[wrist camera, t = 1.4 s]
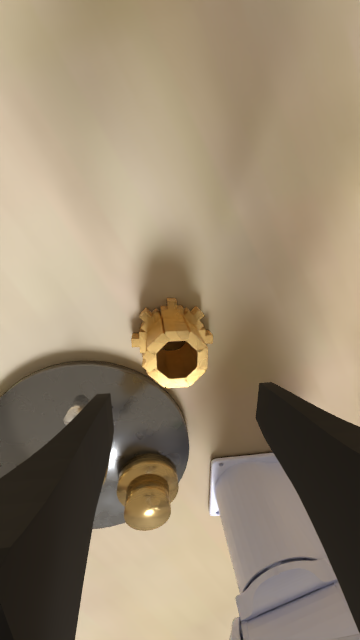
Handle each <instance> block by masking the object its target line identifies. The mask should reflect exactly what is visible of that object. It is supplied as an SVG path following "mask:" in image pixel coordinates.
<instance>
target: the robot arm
mask: <svg viewBox="0 0 360 640" xmlns="http://www.w3.org/2000/svg"><path fill="white" fill-rule="evenodd" d="M256 420H257V422H258V424H259V427H260V429H261V431H262V434H263V436H264V438H265V440H266V441H267V443H268V445H269V446H270V448H271V450H272V451H273V453H265V454H255V455H246V456H236V457H226V458H216V459H213V460H212V461H211V477H210V499H209V513H210V515H211V516H218V515H220V518H221V521H222V525H223V529H224V533H225V537H226V541H227V545H228V549H229V553H230V557H231V561H232V565H233V569H234V572H235V576H236V580H237V584H238V588H239V592H240V595H238V596H236V597H235V599H236V603H237V607H238V611H239V616H240V617H237V618H235V619H234V620H233V622H232V629H231V634H230V639H229V640H360V427H359V426H356V425H354V424H352V423H349V422H347V421H345V420H343V419H340V418H338V417H336V416H334V415H332V414H330V413H328V412H326V411H324V410H322V409H320V408H318V407H316V406H314V405H313V404H311V403H309V402H307V401H305V400H303V399H302V398H300V397H298V396H296V395H294V394H293V393H291V392H289V391H287V390H285V389H284V388H282V387H280V386H278V385H276V384H274V383H272V382H269V383H259V392H258V402H257V411H256ZM113 435H114V423H113V414H112V404H111V394H110V393H105V394H96V396H95V397H94V398H93V399H92V400H91V401H90V402H89V403H88V404H87V405H86V406H85V407H84V408H83V409H82V410H81V411H80V412H79V413H78V414H77V415H76V416H75V417H74V418H73V419H72V420H71V421H70V422H69V423H68V424H67V425H66V426H65V427H64V428H63V429H62V430H61V431H60V432H59V433H58V434H57V435H56V436H55V437H53V438H52V439H51V440H50V441H49V442H48V443H47V444H45V445H44V446H43V447H42V448H41V449H39V450H38V451H37V452H36V453H34V454H33V455H32V456H31V457H29V458H28V459H27V460H25V461H24V462H23V463H21V464H20V465H18V466H17V467H16V468H14V469H13V470H11V471H10V472H8V473H7V474H6V475H4V476H3V477H1V478H0V640H75V634H76V628H77V621H78V614H79V608H80V601H81V594H82V588H83V581H84V575H85V569H86V563H87V557H88V551H89V545H90V539H91V533H92V528H93V522H94V517H95V512H96V508H97V504H98V500H99V496H100V493H101V489H102V485H103V481H104V477H105V474H106V470H107V466H108V462H109V458H110V454H111V449H112V442H113Z"/></svg>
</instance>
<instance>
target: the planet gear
mask: <svg viewBox="0 0 360 640" xmlns="http://www.w3.org/2000/svg"><path fill="white" fill-rule="evenodd" d="M204 316H205V315H204V314H203V313H202V311H201V310H200V309H199V308H198V307H197V306H195V307H194V308H193V309H192V310H191V311H190V310H189V309H188V308H187V307H185V308H184V309H183V307H182V305H177V301H176V298H167V306H161V312H160V311H159V310H158V309H157V308H155V310H154V311H153V312H151V311H150V310H148V309H147V308H145V309H144V310H143V311H142V312H141V313H140V317H139V318H140V319H142V320H143V322H142V324H141V327H140V330H139V333H133V334H132V339H131V341H132V347H140V353H143V362H142V367H144V368H145V369H146V371H147V372H148V375H149V376H150V377H151V378H153V379H154V380H155V381H157V382H158V383H159V384H160V385H162V386H163V387H165V386H166V388H176V387H188V384H189V385H190V386H191V385H192V384H193V383H194V382H195V381H196V380H197V379H198V378H199V377H200V376H201V375H202V374H204V373H205V372H206V369H207V359H208V348H207V345H206V344H212V343H213V335H212V334H211V332H210V331H209V330H205V328H204V327H203V326H204V325H203V324H202V322H201V321H200V320H201V319H202V318H203V317H204ZM169 341H187V342H186V343H185V344H184V345H183V346H182V347H181V348H180V349H179V350H164V349H163V348H162V347H163V346H164V345H165V344H166V343H167V342H169Z"/></svg>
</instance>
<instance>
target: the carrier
mask: <svg viewBox="0 0 360 640" xmlns="http://www.w3.org/2000/svg"><path fill="white" fill-rule="evenodd" d="M105 393H110V394H111V404H112V414H113V423H114V435H113V442H112V449H111V454H110V458H109V462H108V466H107V470H106V474H105V477H104V481H103V485H102V489H101V493H100V496H99V500H98V504H97V508H96V512H95V517H94V522H93V528H92V529H98V528H105V527H111V526H115V525H118V524H122V523H125V522H126V523H127V524H128V525H129V526H130V527H132V528H134V529H136V530H142V531H146V530H153V529H156V528H158V527H160V526H162V525H163V524H164V523H165V522H166V521H167V520H168V519H169V517H170V514H171V508H170V503H171V502H172V501H173V500H174V498H175V497H176V495H177V493H178V483H179V481H180V479H181V478H182V476H183V473H184V471H185V468H186V465H187V461H188V455H189V439H188V433H187V428H186V424H185V420H184V418H183V415H182V413H181V410H180V409H179V407H178V405H177V404H176V402H175V401H174V400H173V398H172V397H171V396H170V395H169V394H168V392H167V391H165V390H164V389H163V388H162V387H161V386H160V385H159V384H157V383H156V382H155V381H153V380H152V379H150V378H149V377H147V376H145V375H143V374H141V373H139V372H137V371H135V370H132V369H130V368H127V367H124V366H120V365H116V364H112V363H106V362H98V361H76V362H67V363H62V364H57V365H53V366H49V367H47V368H44V369H41V370H38V371H36V372H34V373H32V374H30V375H28V376H26V377H25V378H23V379H22V380H20V381H19V382H17V383H16V384H15V385H13V386H12V387H11V388H10V389H9V390H8V391H7V392H6V393H5V394H4V395H3V396H2V397H1V398H0V478H1V477H3V476H4V475H6V474H7V473H8V472H10V471H11V470H13V469H14V468H16V467H17V466H18V465H20V464H21V463H23V462H24V461H25V460H27V459H28V458H29V457H31V456H32V455H33V454H34V453H36V452H37V451H38V450H39V449H41V448H42V447H43V446H44V445H45V444H47V443H48V442H49V441H50V440H51V439H52V438H53V437H55V436H56V435H57V434H58V433H59V432H60V431H61V430H62V429H63V428H64V427H65V426H66V425H67V424H68V423H69V422H70V421H71V420H72V419H73V418H74V417H75V416H76V415H77V414H78V413H79V412H80V411H81V410H82V409H83V408H84V407H85V406H86V405H87V404H88V403H89V402H90V401H91V400H92V399H93V398H94V397H95V396H96V394H105Z"/></svg>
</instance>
